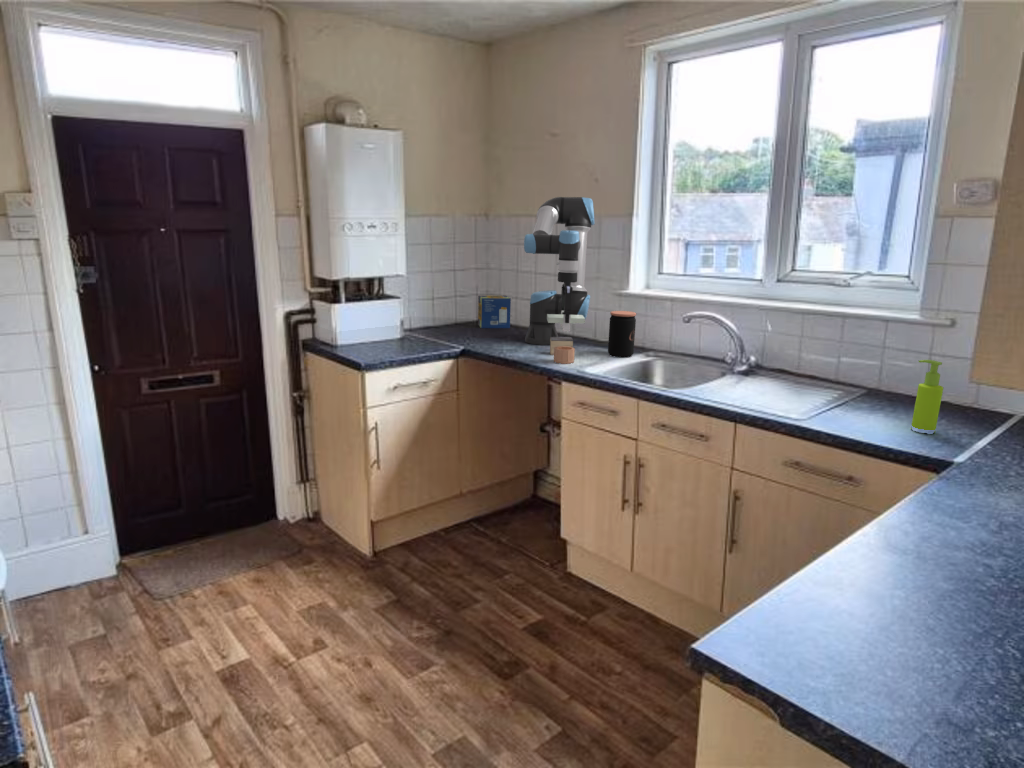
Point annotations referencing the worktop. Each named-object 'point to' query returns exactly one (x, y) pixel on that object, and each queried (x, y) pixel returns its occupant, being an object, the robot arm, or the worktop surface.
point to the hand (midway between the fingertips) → (565, 329)
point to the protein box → (494, 311)
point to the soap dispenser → (928, 399)
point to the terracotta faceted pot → (564, 354)
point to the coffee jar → (621, 333)
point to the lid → (559, 318)
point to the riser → (560, 342)
